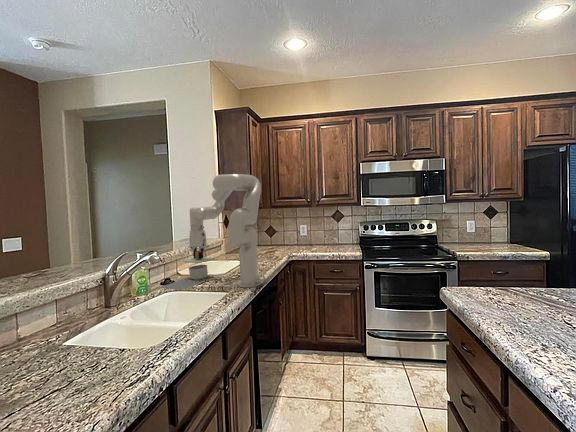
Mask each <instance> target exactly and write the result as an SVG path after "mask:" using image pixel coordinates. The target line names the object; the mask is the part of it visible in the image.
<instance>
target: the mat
mask: <svg viewBox="0 0 576 432" xmlns="http://www.w3.org/2000/svg"><path fill="white" fill-rule="evenodd" d="M202 283H204V282H201V281H194V280H182V279H180V280H178V281H174V282H172V283H168V284H165V285H161V286H158V287H157V288H159V289H168V290H173V291H183V290H185V289H188V288H191V287H194V286H197V285H200V284H202Z"/></svg>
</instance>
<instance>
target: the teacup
mask: <svg viewBox="0 0 576 432" xmlns="http://www.w3.org/2000/svg"><path fill="white" fill-rule="evenodd" d="M188 271H189V277H190V279H192V281H194V280H195V281H199V280H205V278H207V277H208V271H209V270H208V265H207V264H195V265H193V266H189V267H188Z"/></svg>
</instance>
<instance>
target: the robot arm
mask: <svg viewBox="0 0 576 432" xmlns="http://www.w3.org/2000/svg"><path fill="white" fill-rule="evenodd" d="M212 187H213V188H214V189H213V191H211V192H212V193H211V197H212V199H213V200H214V201H215V202H214V203H213V205H211V206H202V207H191V208H190V209H189V224H190V226H189V227H190V228H189V229H190V230H189V245H188V248H189V249H191V250H192V252H193V256H192V257H193V258H195V251H199V259H201V258H203V257H204V252H205V250H206V249H207V248H208V245H207V243H208V241H207V234H206V231H205V230H204V229H205V226H204V221H207V220H215V219H217V218H218V217H219V216H220V215H221V213H222V212H223V211H224V209H225V203H226V200H227V199H228V198H229V196H230V195H231V194H232V192H233V191H246V193H245V194H244V196H243V200H242V207H241V208H239V207H238V208H236V209H234V210H233V211H232V212H231V214H230V217H229V226H228V236H227V238H228V242H229V244H230V246H231V247H234V248H239V252H238V253H239V254H238V255H239V256H238V257H239V275H240V276H239V277H240V281H239V282H238V283H237V287H240V288H255V287H259V286H260V285H261V284H263V283H264V278H260V275H259V270H258V251H257V250H258V249H257V247H258V240H259V239H258V238H259V237H258V236H259V235H258V232H257V230H256V229H255V228H254V227H251V226H252V225H253V226H254V224H256V223H257V221H258V216H259V207H260V199H261V193H262V184H261V182H260V180H259V178H257V177H256V176H254V175H252V174H247V173H246V174H241V173H232V174H231V173H230V174H229V173H228V174H218V175H215V176H214V178H213V179H212Z"/></svg>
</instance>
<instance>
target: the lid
mask: <svg viewBox="0 0 576 432" xmlns="http://www.w3.org/2000/svg"><path fill="white" fill-rule="evenodd" d="M213 260H215V258H214V257H204V256H203V258H201V259H199V250H197V251H195V258H194V257H193V258H188V259H184V260H182V262H183V263H193V264H202V263H206V262H209V261H213Z"/></svg>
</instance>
